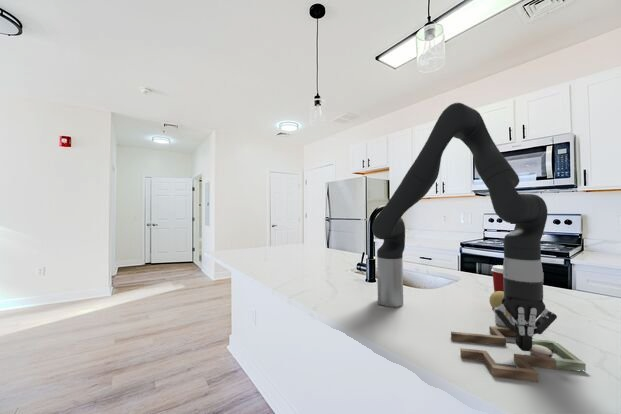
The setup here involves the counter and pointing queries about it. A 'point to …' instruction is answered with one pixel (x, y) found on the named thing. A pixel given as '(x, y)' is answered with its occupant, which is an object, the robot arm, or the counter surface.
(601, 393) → the counter surface
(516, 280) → the robot arm
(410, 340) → the counter surface
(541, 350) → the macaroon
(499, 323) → the light bulb
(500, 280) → the coffee cup
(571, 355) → the brown green zigzag frame
